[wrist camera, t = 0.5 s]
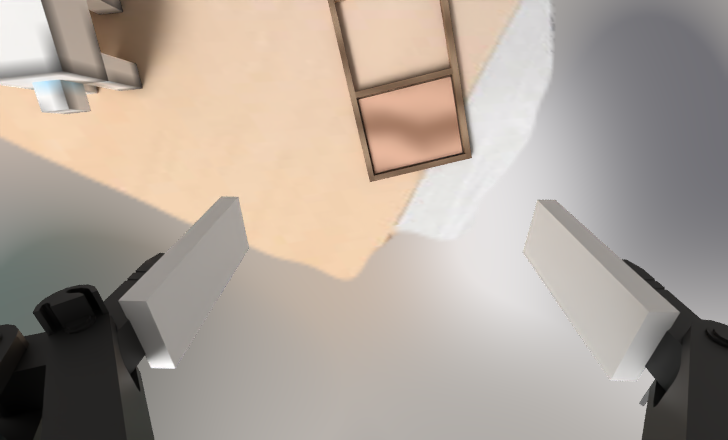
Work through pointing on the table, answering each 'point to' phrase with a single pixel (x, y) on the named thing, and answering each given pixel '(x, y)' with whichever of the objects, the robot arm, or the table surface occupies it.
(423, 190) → the table surface
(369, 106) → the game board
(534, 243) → the robot arm
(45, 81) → the toy llama
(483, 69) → the table surface
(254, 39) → the table surface
